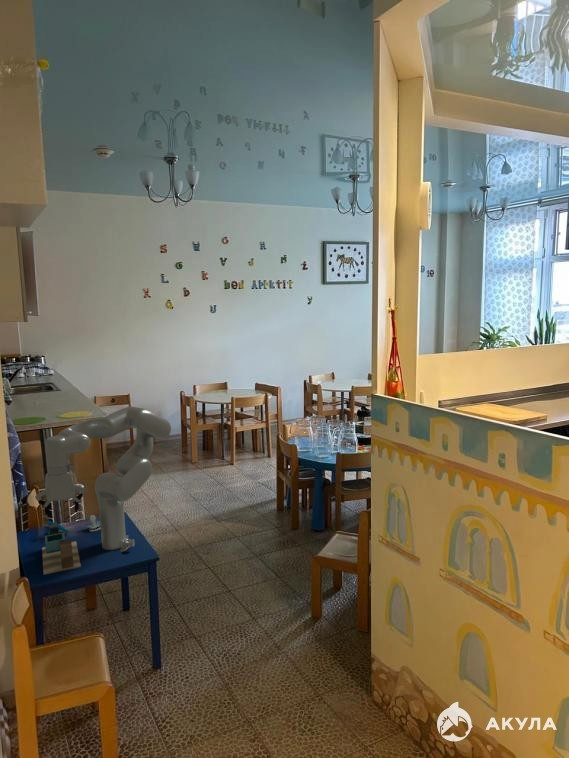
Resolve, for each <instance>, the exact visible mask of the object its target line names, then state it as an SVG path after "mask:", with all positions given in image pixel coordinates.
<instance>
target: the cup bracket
mask: <svg viewBox="0 0 569 758" xmlns="http://www.w3.org/2000/svg"><path fill="white" fill-rule="evenodd" d="M57 524H58V523H55V524H54V525H50V524H49V531H50V534H47V535H45V536H44V542H45V543H44V545H45V547H46V554H48V553H53V552H58V551H60V542H63V541H66V537H65V536H66V535H65V532H59V531H58V525H59V524H58V525H57Z"/></svg>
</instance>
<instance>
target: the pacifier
mask: <svg viewBox="0 0 569 758" xmlns="http://www.w3.org/2000/svg"><path fill="white" fill-rule="evenodd" d="M96 517H97V516H95V514H91V515H89V522H90V525H85V526H84V528H86V529H88V531H89V532H90V533H93V532H97V531H101V526H100V520H96V519H97V518H96ZM97 527H98V528H97ZM96 528H97V529H96ZM93 529H95V530H93Z"/></svg>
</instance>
